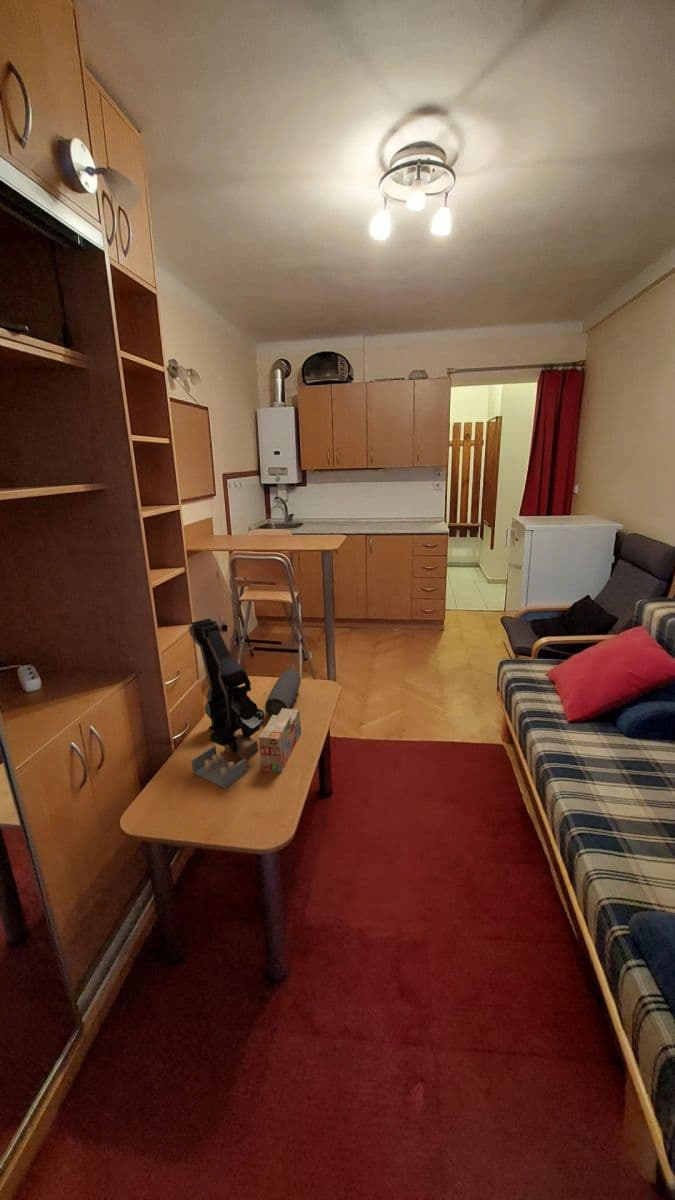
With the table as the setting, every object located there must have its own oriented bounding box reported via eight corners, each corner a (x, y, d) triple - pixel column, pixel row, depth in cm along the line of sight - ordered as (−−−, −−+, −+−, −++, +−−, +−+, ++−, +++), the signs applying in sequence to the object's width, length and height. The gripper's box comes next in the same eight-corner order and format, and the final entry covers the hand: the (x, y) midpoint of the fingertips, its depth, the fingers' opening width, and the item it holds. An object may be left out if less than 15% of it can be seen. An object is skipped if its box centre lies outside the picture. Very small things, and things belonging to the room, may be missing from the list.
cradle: (193, 772, 141) (191, 760, 140) (215, 756, 148) (213, 745, 147) (225, 788, 134) (224, 776, 132) (247, 771, 141) (246, 758, 139)
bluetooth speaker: (280, 690, 189) (278, 668, 186) (302, 691, 187) (301, 668, 184) (264, 721, 167) (261, 696, 164) (289, 722, 166) (287, 697, 163)
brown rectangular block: (224, 750, 151) (223, 739, 150) (235, 742, 155) (234, 732, 154) (247, 760, 146) (246, 749, 145) (258, 751, 150) (257, 740, 149)
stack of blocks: (284, 731, 160) (281, 699, 157) (301, 733, 159) (299, 701, 155) (261, 771, 141) (258, 736, 137) (281, 773, 139) (278, 738, 136)
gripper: (232, 727, 134) (238, 772, 139) (275, 698, 149) (278, 740, 153) (206, 717, 140) (212, 761, 145) (249, 690, 155) (253, 731, 159)
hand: (241, 748), depth 150 cm, fingers closed on brown rectangular block, 5 cm apart
